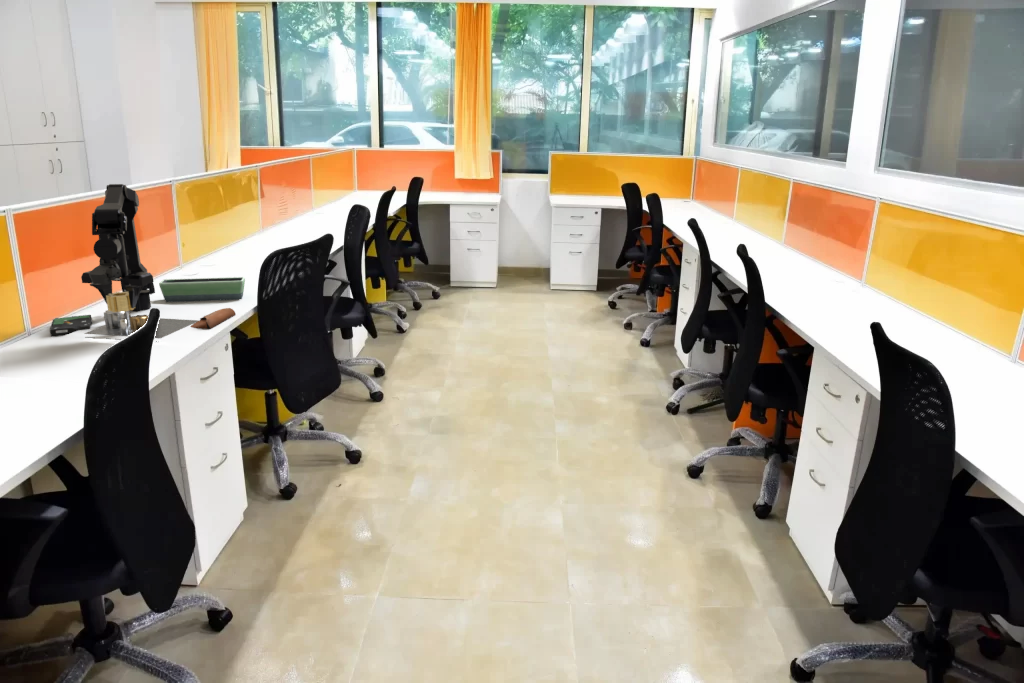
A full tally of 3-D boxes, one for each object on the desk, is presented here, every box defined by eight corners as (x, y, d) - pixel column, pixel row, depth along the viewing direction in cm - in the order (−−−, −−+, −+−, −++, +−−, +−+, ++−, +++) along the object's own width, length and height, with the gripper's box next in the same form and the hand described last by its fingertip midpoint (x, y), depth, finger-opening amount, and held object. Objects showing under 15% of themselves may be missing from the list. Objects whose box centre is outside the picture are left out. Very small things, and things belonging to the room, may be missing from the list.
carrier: (129, 320, 228) (127, 300, 226) (200, 324, 225) (198, 304, 223) (84, 337, 209) (81, 316, 207) (161, 342, 206) (158, 320, 204)
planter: (246, 296, 264) (245, 276, 261) (244, 300, 257) (242, 280, 255) (165, 299, 257) (162, 279, 255) (160, 303, 251) (158, 283, 249)
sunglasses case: (210, 317, 233) (219, 300, 231) (230, 328, 234) (238, 311, 232) (183, 332, 216) (192, 314, 214) (204, 344, 217) (213, 326, 215)
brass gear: (118, 305, 212) (116, 291, 210) (140, 307, 211) (138, 292, 210) (102, 311, 205) (100, 296, 204) (124, 312, 204) (122, 297, 203)
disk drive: (92, 334, 214) (92, 322, 227) (90, 325, 214) (91, 313, 226) (51, 339, 210) (53, 326, 222) (49, 329, 209) (52, 317, 221)
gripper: (62, 256, 197) (71, 312, 202) (125, 259, 194) (133, 315, 199) (91, 250, 208) (99, 303, 212) (151, 253, 205) (157, 306, 209)
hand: (121, 307), depth 208 cm, fingers closed on brass gear, 7 cm apart
